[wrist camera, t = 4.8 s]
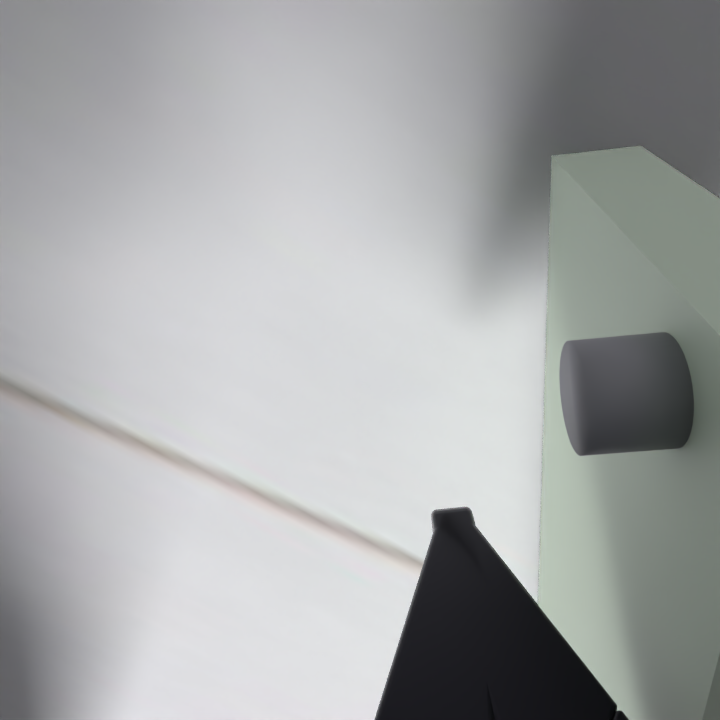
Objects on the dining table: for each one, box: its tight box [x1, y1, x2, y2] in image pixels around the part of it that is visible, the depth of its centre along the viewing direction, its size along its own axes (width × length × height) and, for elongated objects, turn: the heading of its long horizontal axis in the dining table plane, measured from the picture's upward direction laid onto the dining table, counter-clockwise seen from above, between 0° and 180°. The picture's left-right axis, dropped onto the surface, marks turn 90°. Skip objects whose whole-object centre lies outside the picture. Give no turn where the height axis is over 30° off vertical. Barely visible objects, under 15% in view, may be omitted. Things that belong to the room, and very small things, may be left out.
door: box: [538, 146, 720, 720], centre depth 10 cm, size 2×16×6 cm, turn 7°
